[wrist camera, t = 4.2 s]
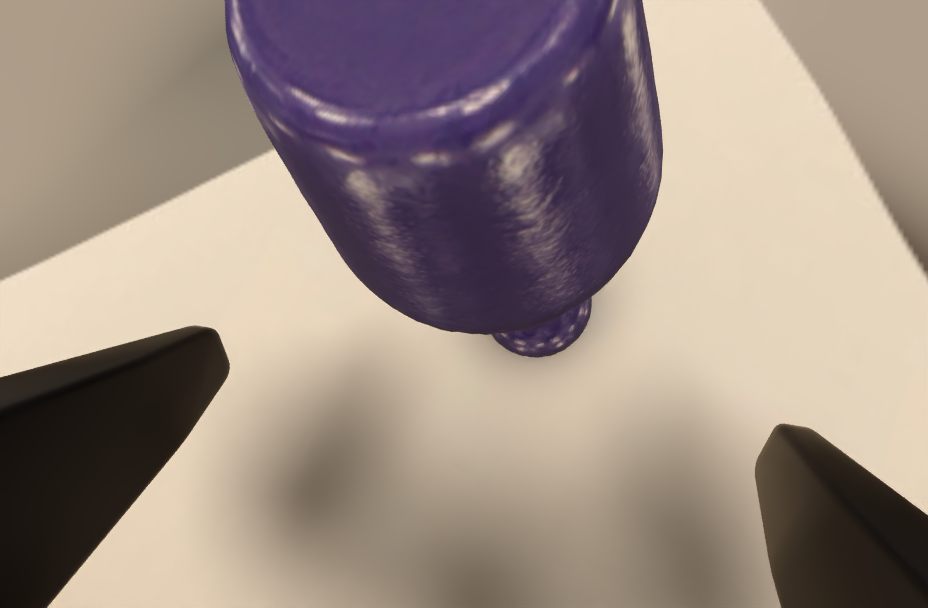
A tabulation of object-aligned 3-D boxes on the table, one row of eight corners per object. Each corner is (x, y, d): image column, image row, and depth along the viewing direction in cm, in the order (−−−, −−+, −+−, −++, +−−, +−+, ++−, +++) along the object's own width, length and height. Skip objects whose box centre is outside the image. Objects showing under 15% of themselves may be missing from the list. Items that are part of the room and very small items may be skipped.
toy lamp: (585, 378, 19) (788, 294, 3) (463, 363, 20) (34, 234, 3) (595, 254, 19) (807, -434, 3) (477, 246, 20) (179, -325, 4)
